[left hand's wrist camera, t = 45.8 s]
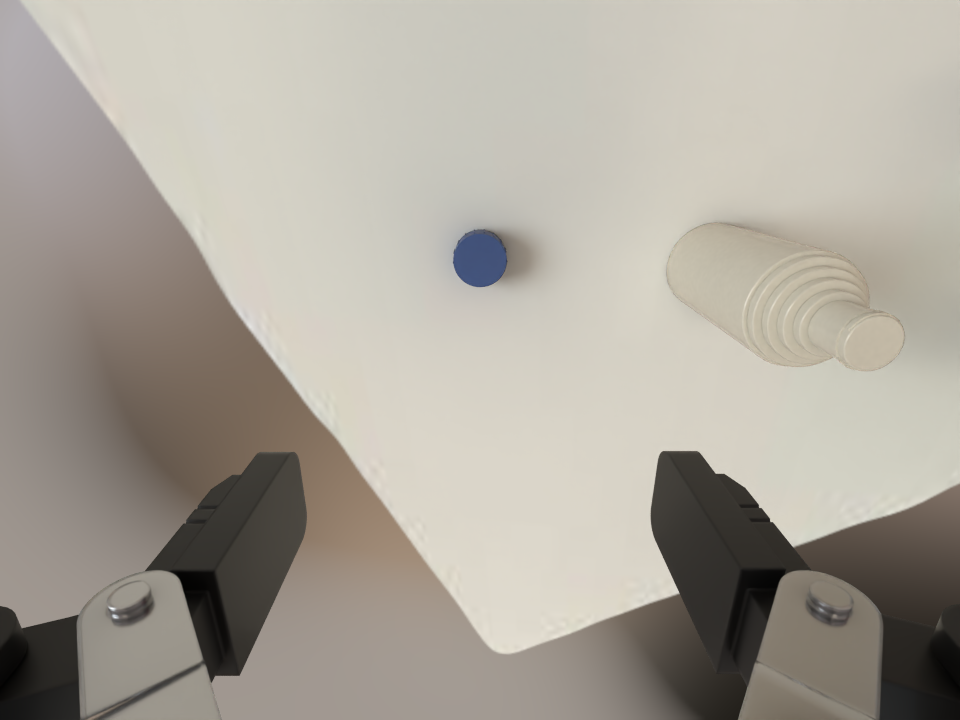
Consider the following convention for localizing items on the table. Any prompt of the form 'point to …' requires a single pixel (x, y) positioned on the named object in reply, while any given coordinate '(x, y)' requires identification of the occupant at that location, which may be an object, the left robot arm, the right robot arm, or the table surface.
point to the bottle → (782, 298)
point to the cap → (480, 258)
